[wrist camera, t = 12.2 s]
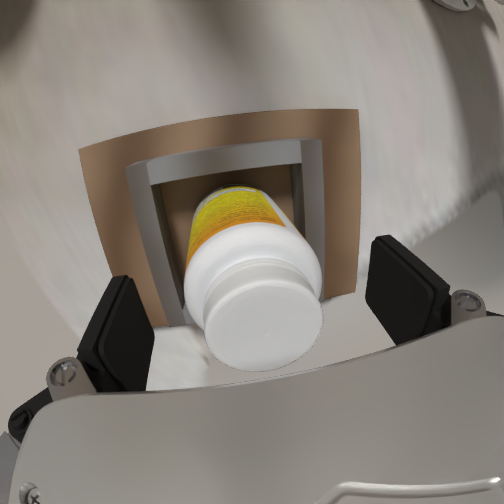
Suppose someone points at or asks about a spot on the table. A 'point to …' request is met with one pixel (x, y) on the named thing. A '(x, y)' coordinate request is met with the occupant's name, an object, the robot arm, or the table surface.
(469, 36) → the table surface
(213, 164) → the collar board
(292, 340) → the supplement bottle
